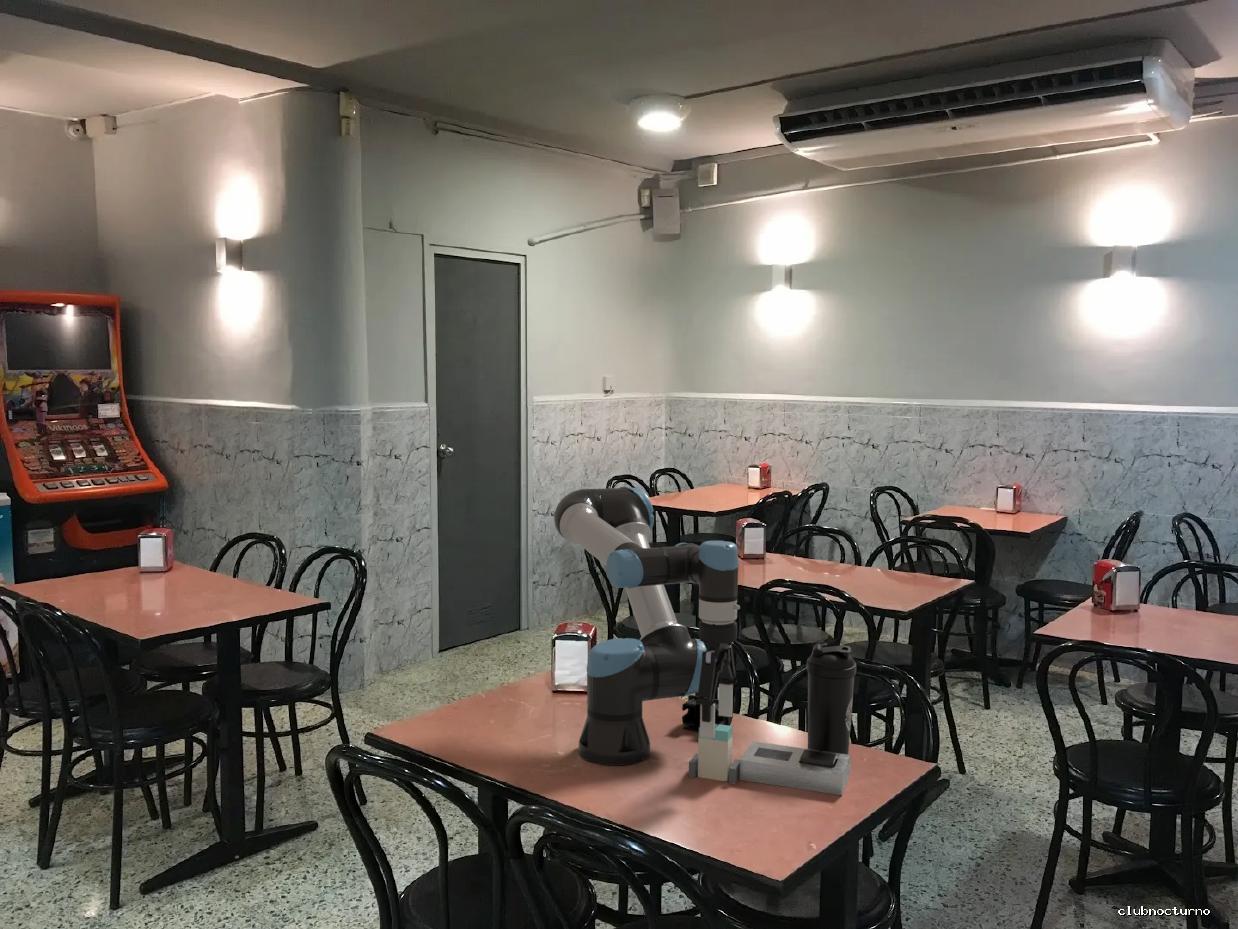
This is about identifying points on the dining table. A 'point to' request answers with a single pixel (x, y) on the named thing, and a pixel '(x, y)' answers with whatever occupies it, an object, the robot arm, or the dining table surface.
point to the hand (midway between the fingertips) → (716, 726)
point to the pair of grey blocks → (733, 769)
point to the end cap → (693, 714)
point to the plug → (715, 754)
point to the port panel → (795, 767)
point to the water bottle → (830, 698)
